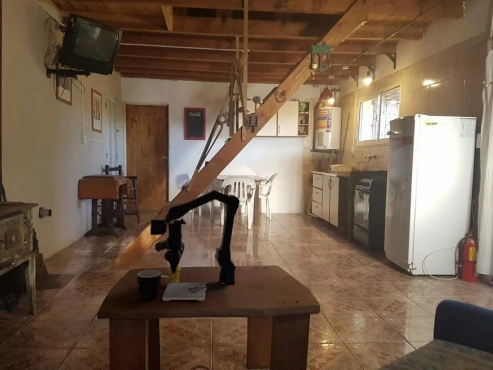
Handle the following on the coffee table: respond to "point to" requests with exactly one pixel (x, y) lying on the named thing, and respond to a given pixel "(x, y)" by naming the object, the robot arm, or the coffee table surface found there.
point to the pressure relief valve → (173, 275)
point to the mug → (149, 284)
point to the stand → (184, 292)
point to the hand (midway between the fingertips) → (175, 269)
